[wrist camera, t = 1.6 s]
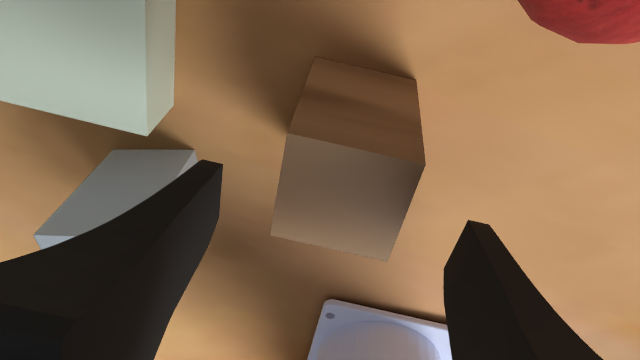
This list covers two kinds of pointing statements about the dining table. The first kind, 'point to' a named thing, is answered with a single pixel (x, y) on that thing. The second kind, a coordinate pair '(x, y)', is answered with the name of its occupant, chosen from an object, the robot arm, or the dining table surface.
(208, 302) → the dining table surface
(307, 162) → the walnut post
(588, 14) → the onion
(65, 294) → the robot arm
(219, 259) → the dining table surface
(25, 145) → the dining table surface
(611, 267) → the dining table surface
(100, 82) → the sage slab
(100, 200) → the bluegrey post
